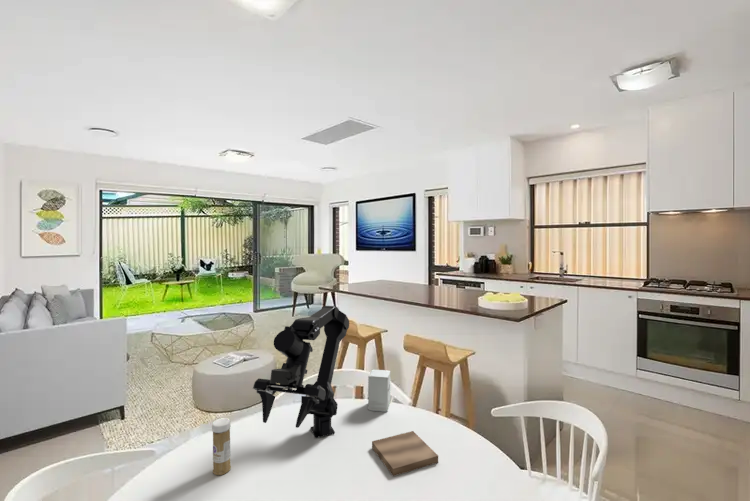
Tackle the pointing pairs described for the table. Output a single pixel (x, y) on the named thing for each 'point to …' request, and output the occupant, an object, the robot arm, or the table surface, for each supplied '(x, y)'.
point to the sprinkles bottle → (221, 446)
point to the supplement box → (379, 390)
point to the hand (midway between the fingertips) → (280, 425)
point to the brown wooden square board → (404, 453)
